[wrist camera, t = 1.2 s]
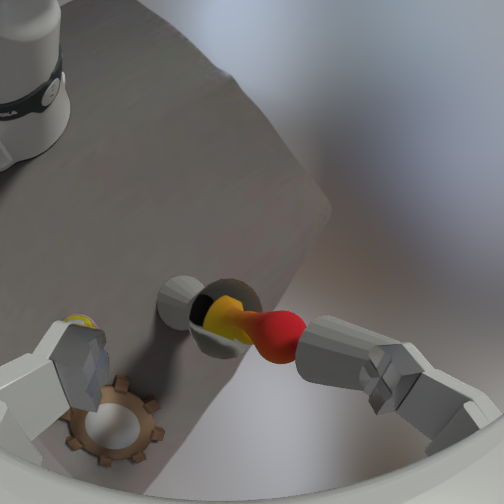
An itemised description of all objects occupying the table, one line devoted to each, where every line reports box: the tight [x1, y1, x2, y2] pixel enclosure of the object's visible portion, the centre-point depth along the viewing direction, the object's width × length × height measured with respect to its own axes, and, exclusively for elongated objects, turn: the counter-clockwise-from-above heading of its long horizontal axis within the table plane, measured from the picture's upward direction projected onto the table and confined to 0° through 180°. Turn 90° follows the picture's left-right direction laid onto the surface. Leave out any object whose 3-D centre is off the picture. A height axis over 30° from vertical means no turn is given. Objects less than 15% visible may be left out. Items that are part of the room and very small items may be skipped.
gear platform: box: [60, 375, 165, 467], centre depth 34 cm, size 18×18×2 cm
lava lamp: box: [157, 276, 401, 391], centre depth 28 cm, size 9×9×35 cm
